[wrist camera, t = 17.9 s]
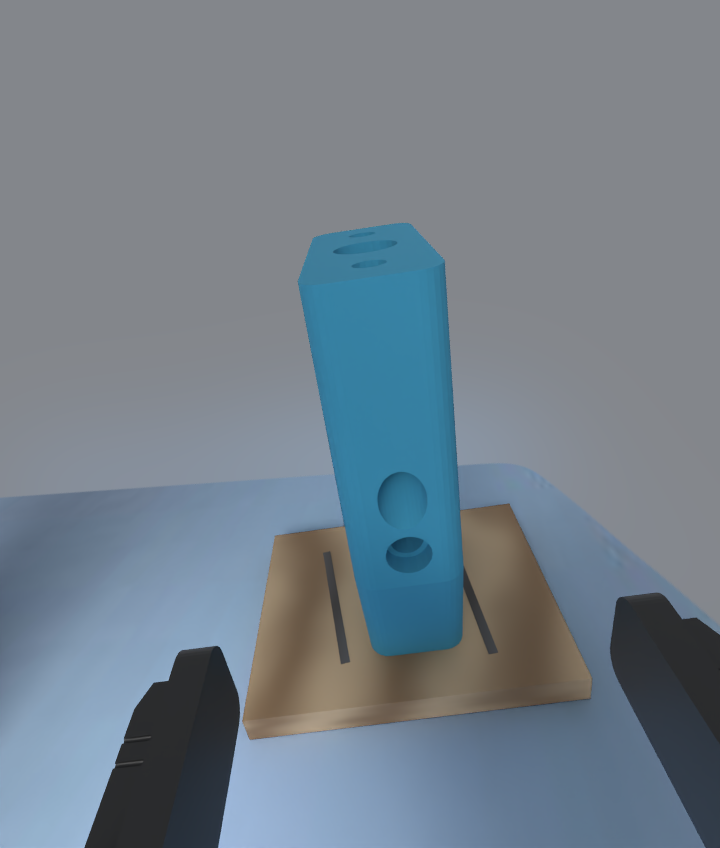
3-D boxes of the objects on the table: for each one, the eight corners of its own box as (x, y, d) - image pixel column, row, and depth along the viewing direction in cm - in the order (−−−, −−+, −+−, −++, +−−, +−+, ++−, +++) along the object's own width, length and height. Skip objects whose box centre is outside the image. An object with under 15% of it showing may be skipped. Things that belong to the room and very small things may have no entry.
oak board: (249, 739, 26) (242, 720, 26) (279, 551, 39) (274, 535, 38) (590, 698, 26) (592, 677, 25) (509, 520, 38) (509, 503, 37)
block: (364, 533, 37) (313, 235, 28) (435, 523, 37) (408, 221, 27) (373, 688, 26) (295, 288, 17) (473, 676, 26) (449, 265, 17)
